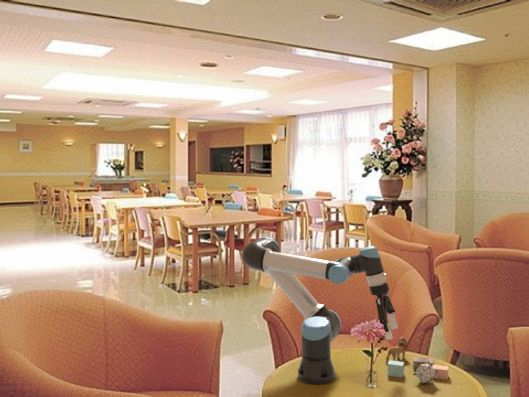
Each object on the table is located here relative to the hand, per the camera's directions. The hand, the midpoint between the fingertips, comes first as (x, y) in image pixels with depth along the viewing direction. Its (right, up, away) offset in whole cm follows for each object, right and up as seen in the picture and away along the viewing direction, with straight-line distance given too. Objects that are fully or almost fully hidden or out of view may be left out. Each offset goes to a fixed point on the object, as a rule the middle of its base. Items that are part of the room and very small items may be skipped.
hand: (392, 333), depth 216 cm
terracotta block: (+19, -17, -2) cm, 26 cm away
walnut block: (+15, -16, +6) cm, 23 cm away
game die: (+11, -18, -8) cm, 22 cm away
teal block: (+2, -17, +1) cm, 17 cm away
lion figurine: (+6, -16, +16) cm, 23 cm away
